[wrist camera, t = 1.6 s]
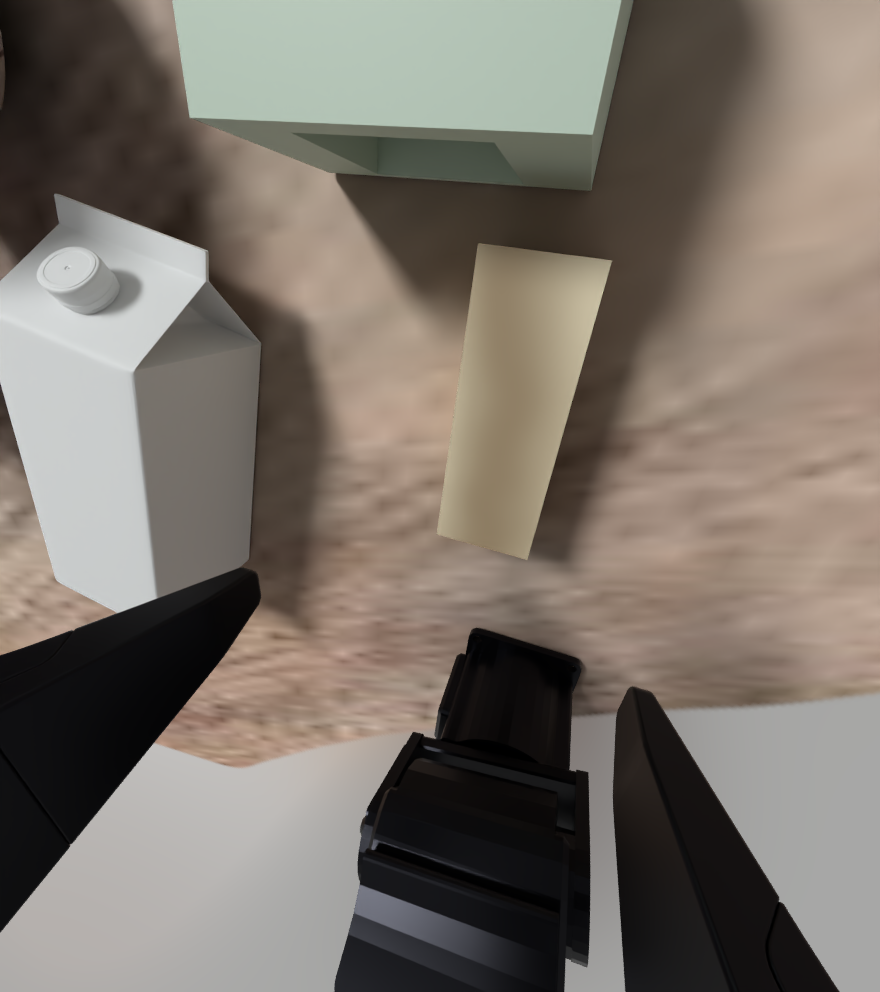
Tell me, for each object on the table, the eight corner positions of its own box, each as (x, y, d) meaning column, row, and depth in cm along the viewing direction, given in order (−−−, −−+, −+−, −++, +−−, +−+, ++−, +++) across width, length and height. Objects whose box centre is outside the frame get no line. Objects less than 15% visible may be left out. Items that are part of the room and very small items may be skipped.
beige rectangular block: (606, 263, 15) (612, 260, 12) (537, 514, 21) (527, 560, 18) (501, 249, 16) (478, 242, 13) (460, 494, 22) (436, 534, 18)
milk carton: (163, 520, 30) (136, 205, 20) (249, 561, 29) (267, 254, 19) (54, 582, 24) (-62, 175, 14) (160, 637, 23) (117, 245, 13)
